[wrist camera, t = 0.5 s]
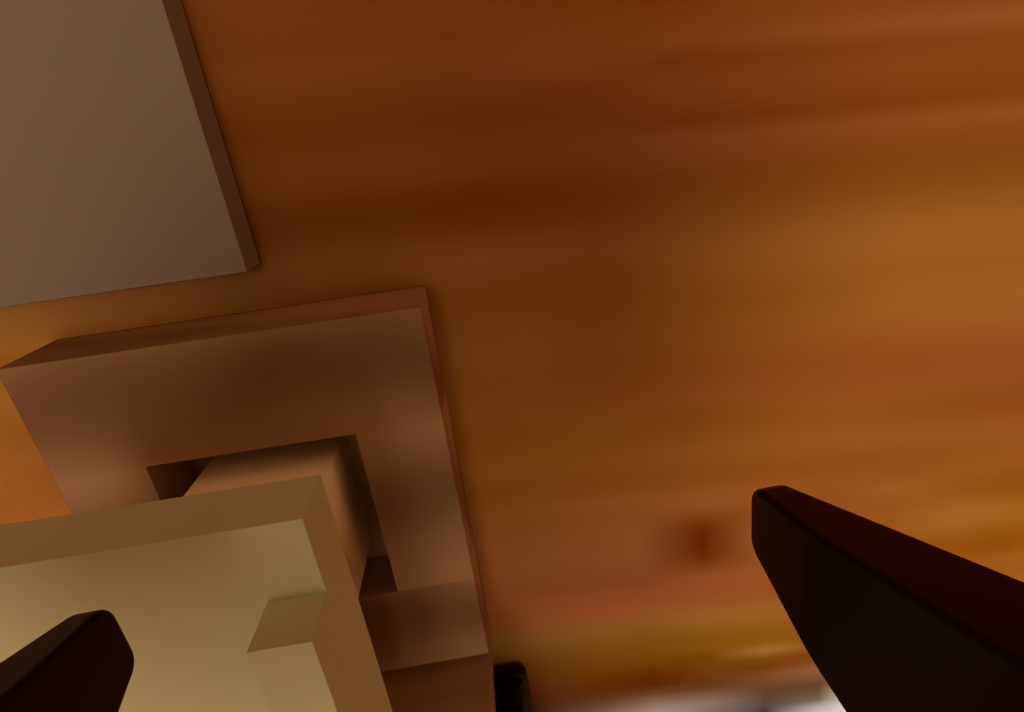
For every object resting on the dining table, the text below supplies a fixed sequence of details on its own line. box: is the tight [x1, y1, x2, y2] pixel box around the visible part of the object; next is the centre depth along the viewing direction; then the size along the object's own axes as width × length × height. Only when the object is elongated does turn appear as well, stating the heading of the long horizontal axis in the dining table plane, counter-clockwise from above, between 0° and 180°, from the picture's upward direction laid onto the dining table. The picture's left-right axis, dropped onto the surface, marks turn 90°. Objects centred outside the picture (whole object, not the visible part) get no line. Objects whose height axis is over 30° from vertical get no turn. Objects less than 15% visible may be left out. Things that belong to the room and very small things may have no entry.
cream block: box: [183, 436, 372, 598], centre depth 17 cm, size 4×4×6 cm
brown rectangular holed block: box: [0, 286, 496, 712], centre depth 16 cm, size 16×25×9 cm, turn 97°
